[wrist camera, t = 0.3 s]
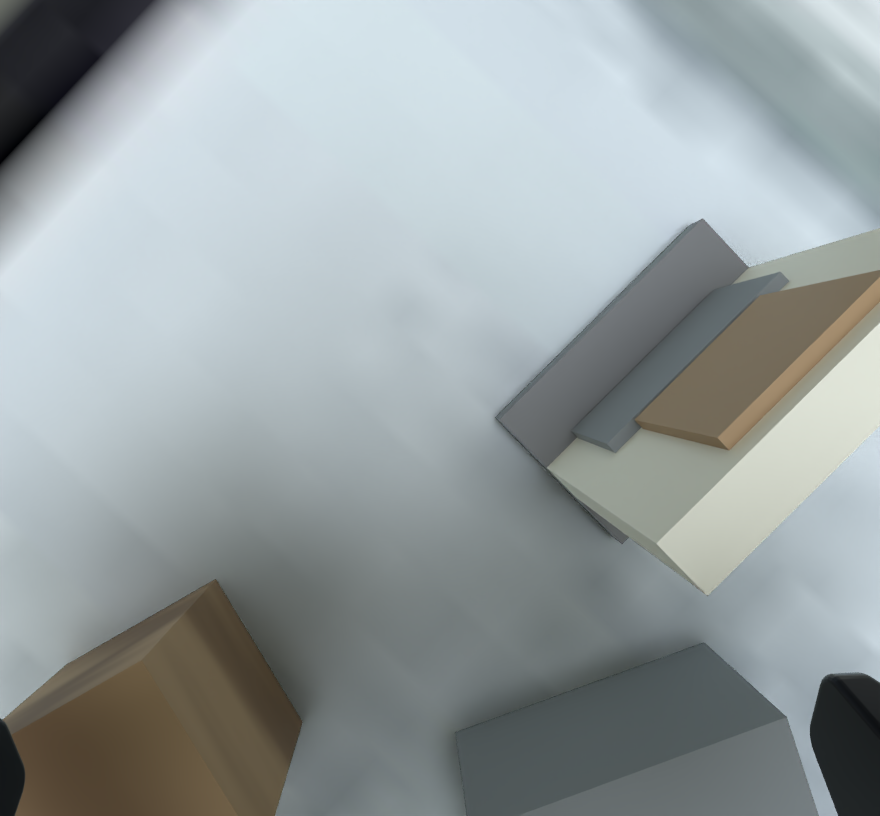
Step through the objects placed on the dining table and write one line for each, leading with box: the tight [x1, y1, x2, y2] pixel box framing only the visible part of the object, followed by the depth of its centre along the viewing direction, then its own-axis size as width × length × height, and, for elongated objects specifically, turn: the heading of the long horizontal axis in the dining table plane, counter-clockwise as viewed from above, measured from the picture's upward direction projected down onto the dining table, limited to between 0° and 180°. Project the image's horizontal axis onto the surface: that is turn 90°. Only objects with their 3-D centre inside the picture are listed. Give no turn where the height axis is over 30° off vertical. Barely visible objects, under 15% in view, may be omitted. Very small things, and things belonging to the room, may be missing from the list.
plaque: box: [495, 219, 880, 596], centre depth 17 cm, size 8×5×10 cm, turn 135°
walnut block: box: [3, 579, 303, 816], centre depth 18 cm, size 5×5×6 cm
